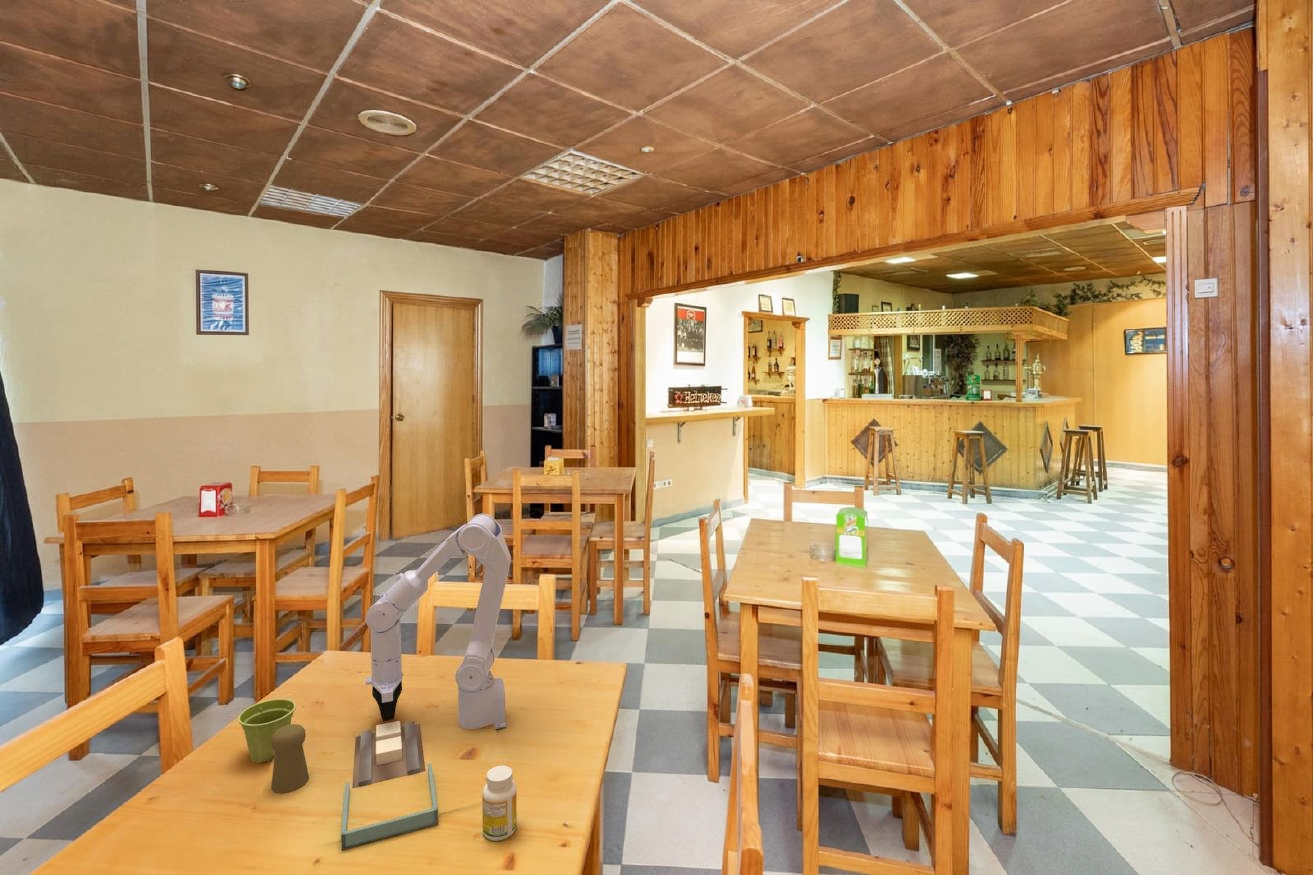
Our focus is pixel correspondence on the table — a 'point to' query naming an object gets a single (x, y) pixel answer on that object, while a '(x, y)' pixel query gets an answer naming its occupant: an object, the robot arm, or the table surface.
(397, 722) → the chip
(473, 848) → the table surface
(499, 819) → the supplement bottle
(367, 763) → the slot board
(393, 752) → the chip
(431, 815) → the tray
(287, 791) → the cork
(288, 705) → the plant pot
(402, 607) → the robot arm
